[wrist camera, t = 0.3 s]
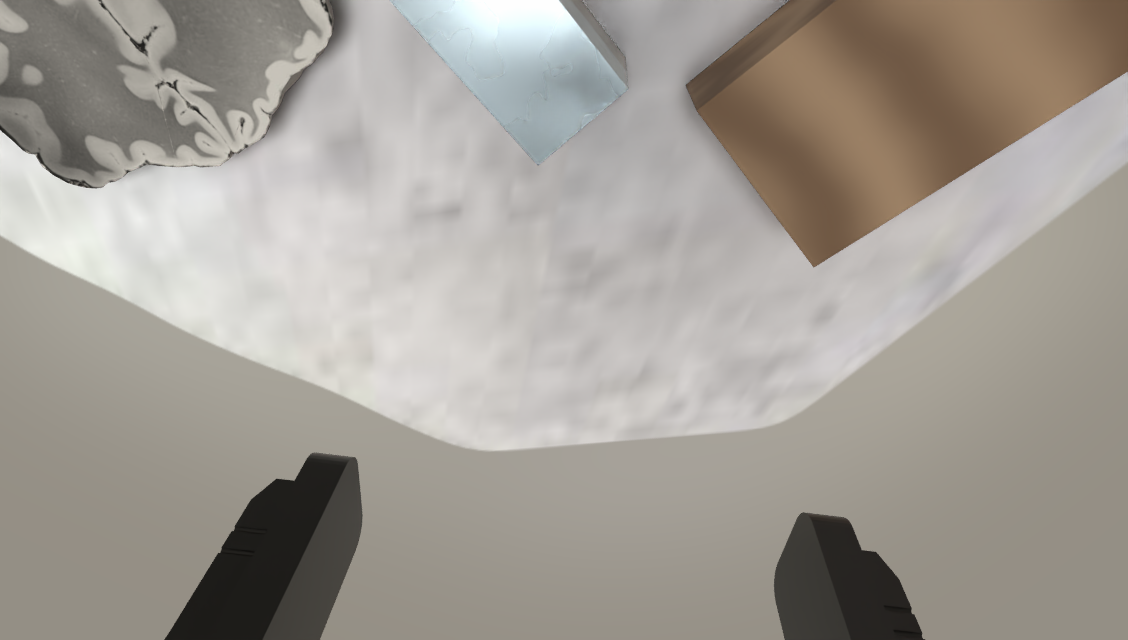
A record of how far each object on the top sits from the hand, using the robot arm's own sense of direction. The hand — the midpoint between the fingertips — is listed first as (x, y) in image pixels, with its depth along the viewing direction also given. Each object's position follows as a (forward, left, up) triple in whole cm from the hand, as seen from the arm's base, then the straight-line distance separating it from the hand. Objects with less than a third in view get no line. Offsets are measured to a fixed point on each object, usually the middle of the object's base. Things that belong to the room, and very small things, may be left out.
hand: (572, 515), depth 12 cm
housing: (-1, -7, -26) cm, 27 cm away
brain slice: (+13, -20, -27) cm, 36 cm away
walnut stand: (-13, +6, -26) cm, 30 cm away
